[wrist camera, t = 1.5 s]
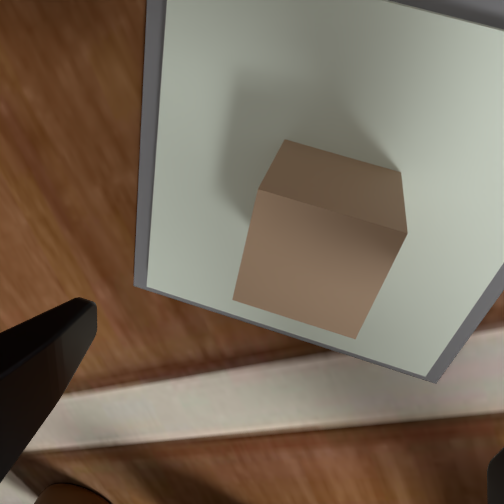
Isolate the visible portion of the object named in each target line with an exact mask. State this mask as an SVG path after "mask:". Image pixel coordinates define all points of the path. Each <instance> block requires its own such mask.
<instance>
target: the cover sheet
mask: <svg viewBox="0 0 504 504" xmlns="http://www.w3.org/2000/svg"><path fill="white" fill-rule="evenodd" d="M503 263H504V29H500V28H496V27H492V26H488V25H484V24H480V23H476V22H472V21H468V20H464V19H460V18H456V17H452V16H448V15H445V14H441V13H437V12H433V11H429V10H425V9H421V8H417V7H413V6H409V5H405V4H401V3H397V2H393V1H389V0H167V7H166V21H165V36H164V50H163V64H162V78H161V92H160V106H159V120H158V134H157V148H156V162H155V176H154V190H153V204H152V218H151V232H150V246H149V260H148V275H147V287H149V288H152V289H156V290H159V291H162V292H165V293H168V294H171V295H174V296H177V297H180V298H183V299H186V300H190V301H193V302H196V303H199V304H202V305H205V306H208V307H211V308H214V309H217V310H220V311H224V312H227V313H230V314H233V315H236V316H239V317H242V318H245V319H248V320H251V321H255V322H258V323H261V324H264V325H267V326H270V327H273V328H276V329H279V330H282V331H285V332H289V333H292V334H295V335H298V336H301V337H304V338H307V339H310V340H313V341H316V342H320V343H323V344H326V345H329V346H332V347H335V348H338V349H341V350H344V351H347V352H350V353H354V354H357V355H360V356H363V357H366V358H369V359H372V360H375V361H378V362H381V363H384V364H388V365H391V366H394V367H397V368H400V369H403V370H406V371H409V372H412V373H415V374H419V375H422V376H425V377H426V375H427V374H428V372H429V371H430V369H431V368H432V367H433V365H434V364H435V362H436V361H437V359H438V358H439V356H440V355H441V353H442V352H443V350H444V349H445V348H446V346H447V345H448V343H449V342H450V340H451V339H452V337H453V336H454V334H455V333H456V332H457V330H458V329H459V327H460V326H461V324H462V323H463V321H464V320H465V318H466V317H467V316H468V314H469V313H470V311H471V310H472V308H473V307H474V305H475V304H476V302H477V301H478V299H479V298H480V297H481V295H482V294H483V292H484V291H485V289H486V288H487V286H488V285H489V283H490V282H491V281H492V279H493V278H494V276H495V275H496V273H497V272H498V270H499V269H500V267H501V266H502V265H503Z"/></svg>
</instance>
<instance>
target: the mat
mask: <svg viewBox="0 0 504 504" xmlns="http://www.w3.org/2000/svg"><path fill="white" fill-rule="evenodd" d="M389 1H393V2H397V3H401V4H405V5H409V6H413V7H417V8H421V9H425V10H429V11H433V12H437V13H441V14H445V15H448V16H452V17H456V18H460V19H464V20H468V21H472V22H476V23H480V24H484V25H488V26H492V27H496V28H500V29H504V0H389ZM166 7H167V0H147V14H146V35H145V56H144V77H143V98H142V119H141V140H140V161H139V183H138V204H137V225H136V246H135V267H134V286H136V287H139V288H142V289H145V290H148V291H151V292H154V293H157V294H160V295H163V296H167V297H170V298H173V299H176V300H179V301H182V302H185V303H188V304H191V305H194V306H197V307H201V308H204V309H207V310H210V311H213V312H216V313H219V314H222V315H225V316H228V317H231V318H234V319H238V320H241V321H244V322H247V323H250V324H253V325H256V326H259V327H262V328H265V329H268V330H272V331H275V332H278V333H281V334H284V335H287V336H290V337H293V338H296V339H299V340H302V341H306V342H309V343H312V344H315V345H318V346H321V347H324V348H327V349H330V350H333V351H336V352H339V353H343V354H346V355H349V356H352V357H355V358H358V359H361V360H364V361H367V362H370V363H373V364H377V365H380V366H383V367H386V368H389V369H392V370H395V371H398V372H401V373H404V374H407V375H410V376H414V377H417V378H420V379H423V380H426V381H429V382H432V383H435V384H436V383H437V382H438V380H439V379H440V378H441V376H442V375H443V373H444V372H445V371H446V369H447V368H448V367H449V365H450V364H451V362H452V361H453V360H454V358H455V357H456V355H457V354H458V353H459V351H460V350H461V348H462V347H463V346H464V344H465V343H466V342H467V340H468V339H469V337H470V336H471V335H472V333H473V332H474V330H475V329H476V328H477V326H478V325H479V323H480V322H481V321H482V319H483V318H484V317H485V315H486V314H487V312H488V311H489V310H490V308H491V307H492V305H493V304H494V303H495V301H496V300H497V298H498V297H499V296H500V294H501V293H502V292H503V290H504V263H503V265H502V266H501V267H500V269H499V270H498V272H497V273H496V275H495V276H494V278H493V279H492V281H491V282H490V283H489V285H488V286H487V288H486V289H485V291H484V292H483V294H482V295H481V297H480V298H479V299H478V301H477V302H476V304H475V305H474V307H473V308H472V310H471V311H470V313H469V314H468V316H467V317H466V318H465V320H464V321H463V323H462V324H461V326H460V327H459V329H458V330H457V332H456V333H455V334H454V336H453V337H452V339H451V340H450V342H449V343H448V345H447V346H446V348H445V349H444V350H443V352H442V353H441V355H440V356H439V358H438V359H437V361H436V362H435V364H434V365H433V367H432V368H431V369H430V371H429V372H428V374H427V375H426V377H425V376H422V375H419V374H415V373H412V372H409V371H406V370H403V369H400V368H397V367H394V366H391V365H388V364H384V363H381V362H378V361H375V360H372V359H369V358H366V357H363V356H360V355H357V354H354V353H350V352H347V351H344V350H341V349H338V348H335V347H332V346H329V345H326V344H323V343H320V342H316V341H313V340H310V339H307V338H304V337H301V336H298V335H295V334H292V333H289V332H285V331H282V330H279V329H276V328H273V327H270V326H267V325H264V324H261V323H258V322H255V321H251V320H248V319H245V318H242V317H239V316H236V315H233V314H230V313H227V312H224V311H220V310H217V309H214V308H211V307H208V306H205V305H202V304H199V303H196V302H193V301H190V300H186V299H183V298H180V297H177V296H174V295H171V294H168V293H165V292H162V291H159V290H156V289H152V288H149V287H147V275H148V260H149V246H150V232H151V218H152V204H153V190H154V176H155V162H156V148H157V134H158V120H159V106H160V92H161V78H162V64H163V50H164V36H165V21H166Z"/></svg>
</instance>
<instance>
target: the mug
mask: <svg viewBox="0 0 504 504" xmlns="http://www.w3.org/2000/svg"><path fill="white" fill-rule="evenodd" d="M34 504H110V503H109V502H107V501H106V500H105V499H103V498H102V497H100V496H99V495H97V494H95V493H94V492H92V491H89V490H87V489H85V488H82V487H79V486H76V485H72V484H65V483H59V484H53V485H51V486H49V487H47V488H46V489H45V490H44V491H43V492H42V493H41V494H40V496H39V497H38V499H37V500H36V502H35V503H34Z"/></svg>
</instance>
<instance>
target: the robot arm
mask: <svg viewBox="0 0 504 504" xmlns="http://www.w3.org/2000/svg"><path fill="white" fill-rule="evenodd" d="M96 332H97V306H96V304H95V302H93V301H90V300H87V299H84V298H80V297H78V298H74V299H72V300H70V301H68V302H65V303H63V304H61V305H59V306H57V307H55V308H53V309H50V310H48V311H46V312H44V313H42V314H40V315H38V316H35V317H33V318H31V319H29V320H27V321H25V322H23V323H21V324H18V325H16V326H14V327H12V328H10V329H8V330H6V331H3V332H1V333H0V483H1V481H2V480H3V479H4V477H5V476H6V474H7V473H8V472H9V470H10V469H11V467H12V466H13V465H14V463H15V462H16V460H17V459H18V457H19V456H20V455H21V453H22V452H23V450H24V449H25V448H26V446H27V445H28V443H29V442H30V441H31V439H32V438H33V436H34V435H35V434H36V432H37V431H38V429H39V428H40V427H41V425H42V424H43V422H44V421H45V420H46V418H47V417H48V415H49V414H50V413H51V411H52V410H53V408H54V407H55V405H56V404H57V402H58V401H59V399H60V398H61V396H62V395H63V393H64V391H65V389H66V388H67V386H68V384H69V382H70V381H71V379H72V377H73V375H74V373H75V372H76V370H77V368H78V366H79V364H80V363H81V361H82V359H83V357H84V356H85V354H86V352H87V350H88V348H89V347H90V345H91V343H92V341H93V339H94V337H95V335H96ZM487 496H488V504H504V448H503V449H502V450H501V451H500V452H499V453H498V454H497V455H496V456H495V457H494V458H493V459H492V460H491V461H490V463H489V465H488V469H487Z"/></svg>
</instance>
